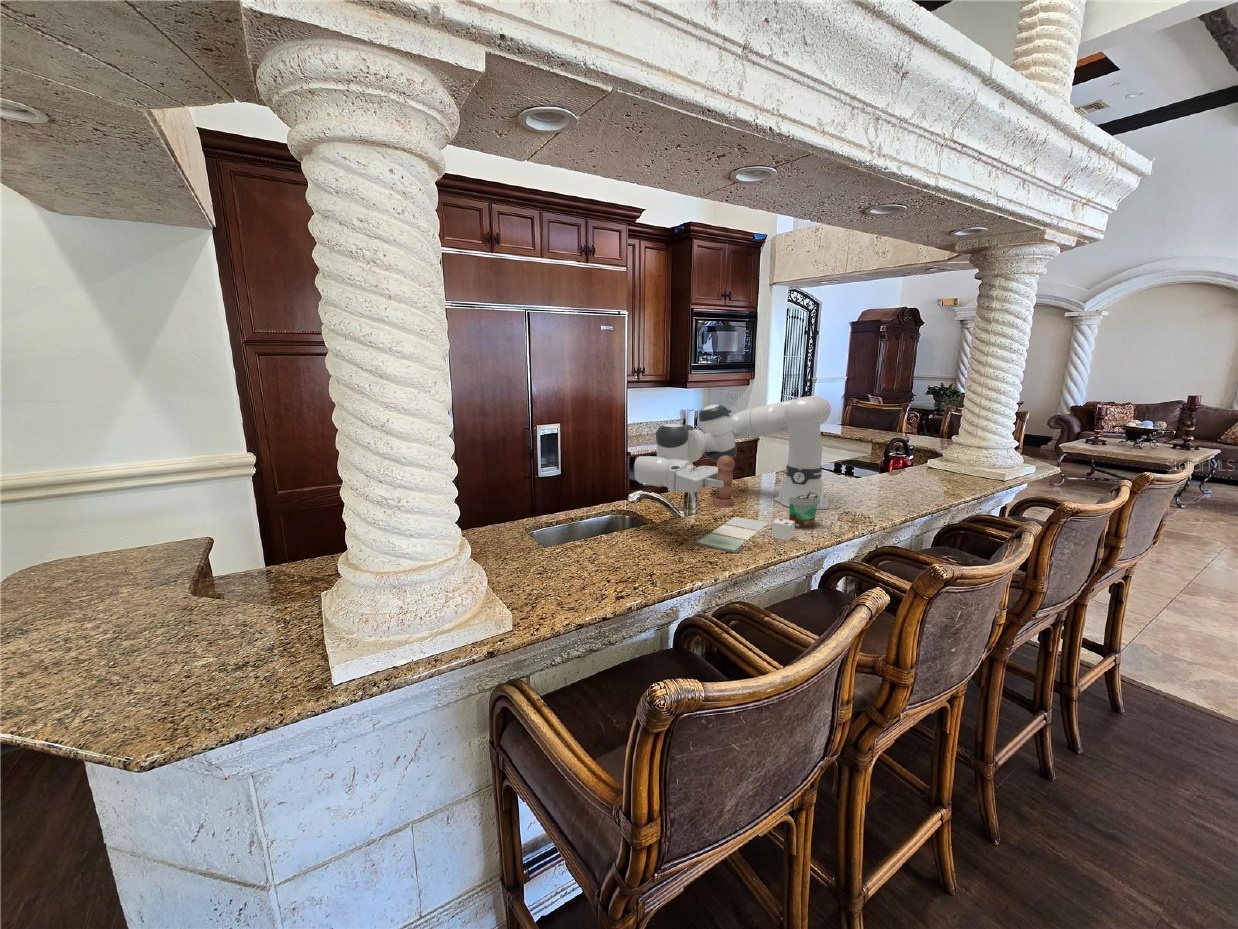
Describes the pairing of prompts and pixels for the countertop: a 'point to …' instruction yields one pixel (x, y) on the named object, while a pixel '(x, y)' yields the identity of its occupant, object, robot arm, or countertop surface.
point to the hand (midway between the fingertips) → (727, 482)
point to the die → (783, 529)
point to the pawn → (725, 473)
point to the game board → (731, 543)
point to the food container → (804, 510)
